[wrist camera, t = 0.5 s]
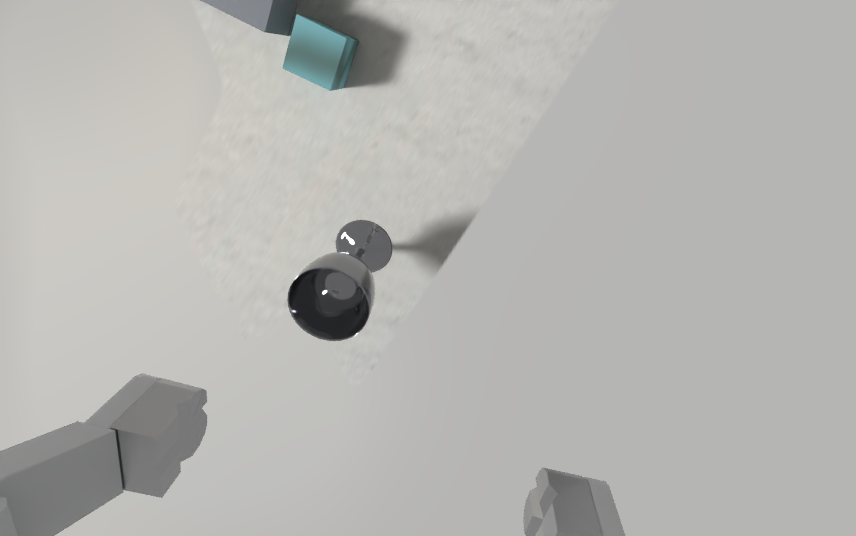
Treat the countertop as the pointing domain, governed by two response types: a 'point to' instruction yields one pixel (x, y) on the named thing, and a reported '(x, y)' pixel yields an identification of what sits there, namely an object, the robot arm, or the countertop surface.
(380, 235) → the wine glass
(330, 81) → the teal block
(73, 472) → the robot arm
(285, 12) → the charcoal block
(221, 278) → the countertop surface
